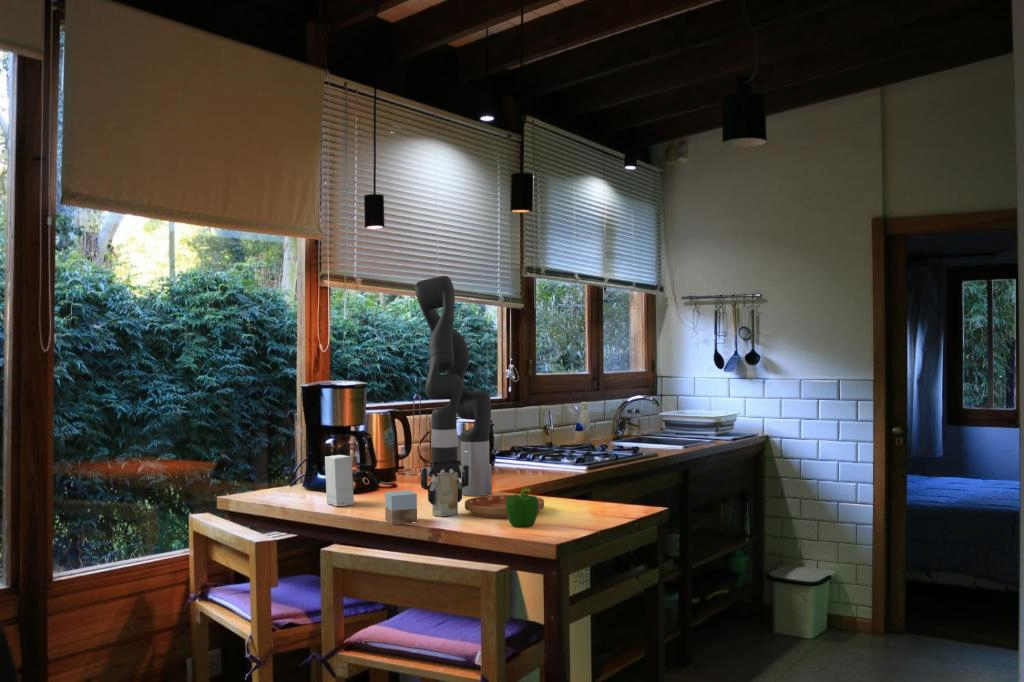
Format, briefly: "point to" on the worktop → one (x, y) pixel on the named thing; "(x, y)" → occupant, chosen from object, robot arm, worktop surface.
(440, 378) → the robot arm
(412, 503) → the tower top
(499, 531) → the worktop surface
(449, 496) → the skincare box
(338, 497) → the skincare box
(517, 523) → the bell pepper
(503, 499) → the saucer
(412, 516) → the tower base
